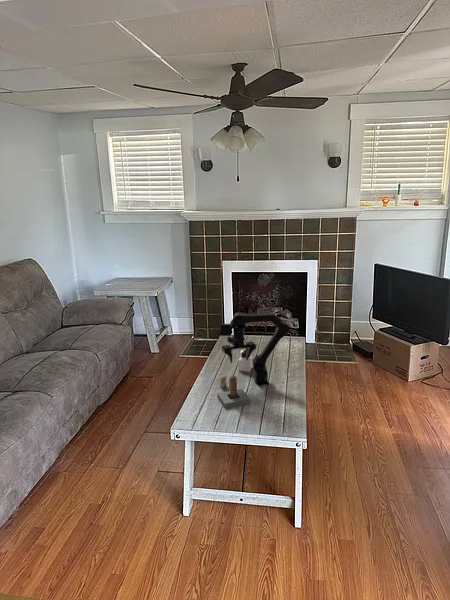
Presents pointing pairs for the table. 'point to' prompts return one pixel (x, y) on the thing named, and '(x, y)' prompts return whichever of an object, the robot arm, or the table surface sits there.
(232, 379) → the walnut pin
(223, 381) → the short beech pin
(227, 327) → the robot arm
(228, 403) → the slate hole plate
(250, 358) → the medicine bottle
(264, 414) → the table surface
